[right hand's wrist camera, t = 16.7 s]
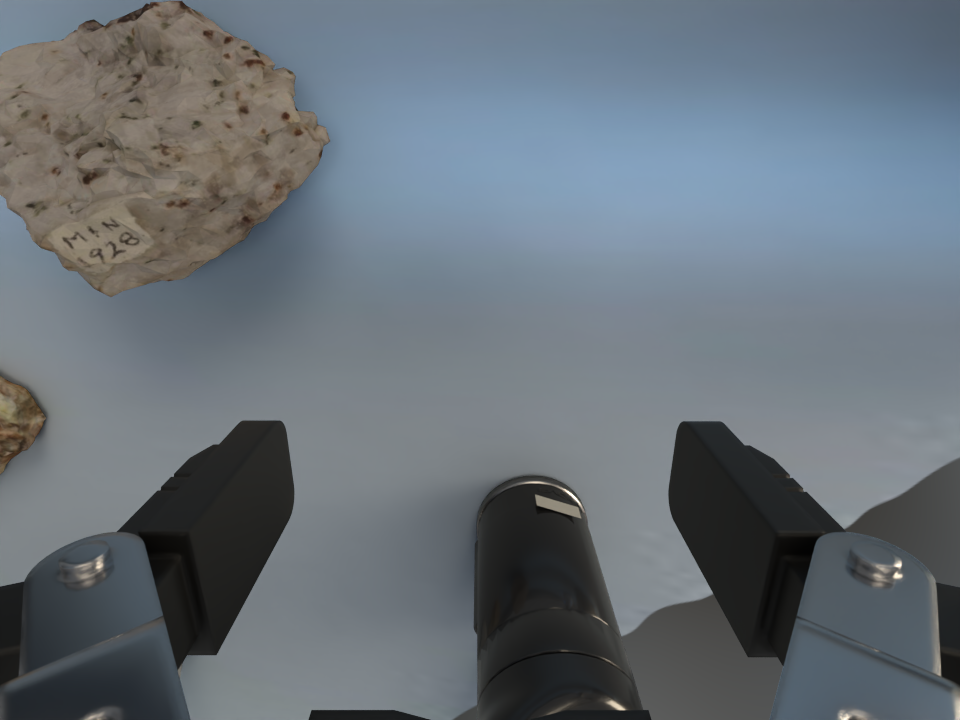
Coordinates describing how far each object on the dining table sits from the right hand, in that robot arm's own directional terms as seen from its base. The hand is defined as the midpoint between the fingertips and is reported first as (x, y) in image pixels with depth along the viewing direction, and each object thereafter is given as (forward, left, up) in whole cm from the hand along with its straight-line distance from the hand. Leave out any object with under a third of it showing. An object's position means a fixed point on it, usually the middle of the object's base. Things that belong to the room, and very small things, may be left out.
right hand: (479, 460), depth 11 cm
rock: (-3, +20, -29) cm, 36 cm away
